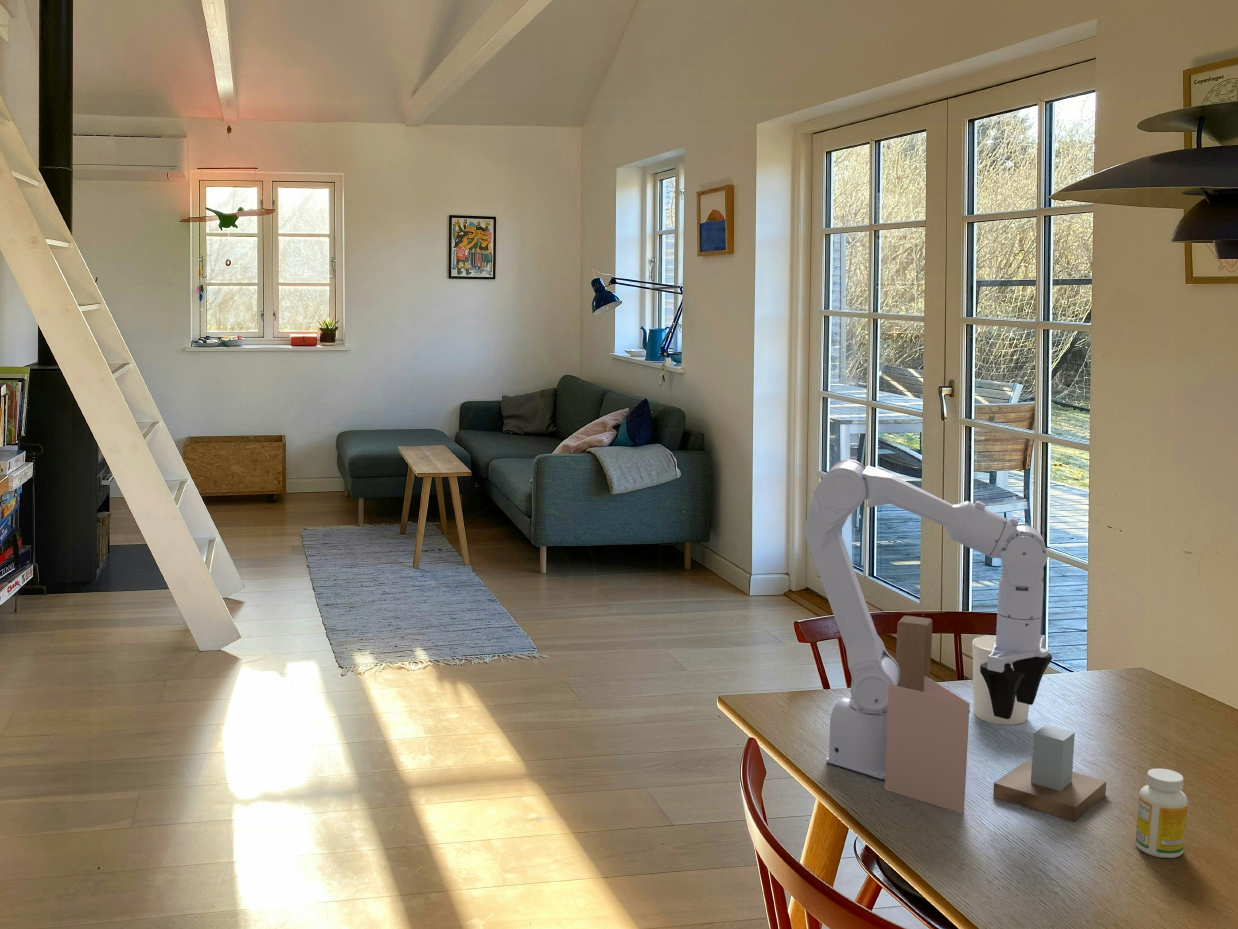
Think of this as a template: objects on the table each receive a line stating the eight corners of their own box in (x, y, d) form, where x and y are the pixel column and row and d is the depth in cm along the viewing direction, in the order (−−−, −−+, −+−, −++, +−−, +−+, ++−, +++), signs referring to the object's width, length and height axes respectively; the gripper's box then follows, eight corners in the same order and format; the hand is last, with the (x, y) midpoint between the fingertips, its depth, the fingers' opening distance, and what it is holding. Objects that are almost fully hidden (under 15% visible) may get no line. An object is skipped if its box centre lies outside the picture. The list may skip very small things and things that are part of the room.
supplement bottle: (1128, 849, 142) (1134, 774, 141) (1144, 835, 146) (1149, 762, 145) (1175, 864, 138) (1181, 787, 137) (1189, 849, 142) (1195, 774, 141)
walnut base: (993, 797, 157) (993, 783, 156) (1026, 772, 165) (1027, 759, 165) (1074, 821, 149) (1075, 807, 149) (1105, 795, 158) (1106, 781, 157)
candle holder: (1024, 731, 181) (1029, 657, 179) (961, 719, 186) (965, 646, 184) (1038, 712, 189) (1042, 641, 187) (977, 701, 194) (981, 632, 192)
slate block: (1030, 782, 157) (1033, 733, 156) (1042, 773, 160) (1045, 725, 159) (1060, 791, 154) (1063, 740, 153) (1071, 782, 157) (1074, 732, 156)
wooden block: (957, 735, 179) (963, 622, 176) (951, 745, 175) (957, 629, 172) (899, 725, 183) (903, 614, 180) (892, 734, 179) (897, 621, 176)
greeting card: (969, 812, 152) (975, 702, 150) (918, 819, 150) (923, 707, 148) (925, 778, 163) (930, 675, 161) (877, 783, 161) (881, 679, 159)
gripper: (1026, 631, 150) (1020, 731, 152) (1068, 609, 161) (1062, 703, 163) (974, 620, 155) (969, 718, 157) (1019, 600, 166) (1014, 691, 168)
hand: (1013, 709), depth 160 cm, fingers open, 7 cm apart
